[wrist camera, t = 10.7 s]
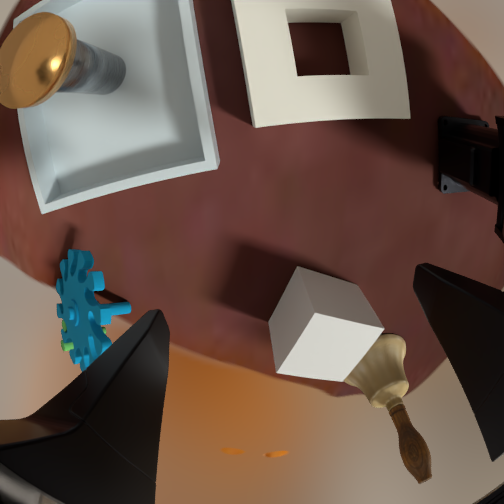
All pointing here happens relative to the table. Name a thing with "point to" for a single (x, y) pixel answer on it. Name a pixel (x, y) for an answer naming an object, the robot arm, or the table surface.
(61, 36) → the lock pin
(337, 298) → the white cube
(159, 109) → the parts tray
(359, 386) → the hand bell
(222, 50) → the table surface
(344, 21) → the white square hole block
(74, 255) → the gear
